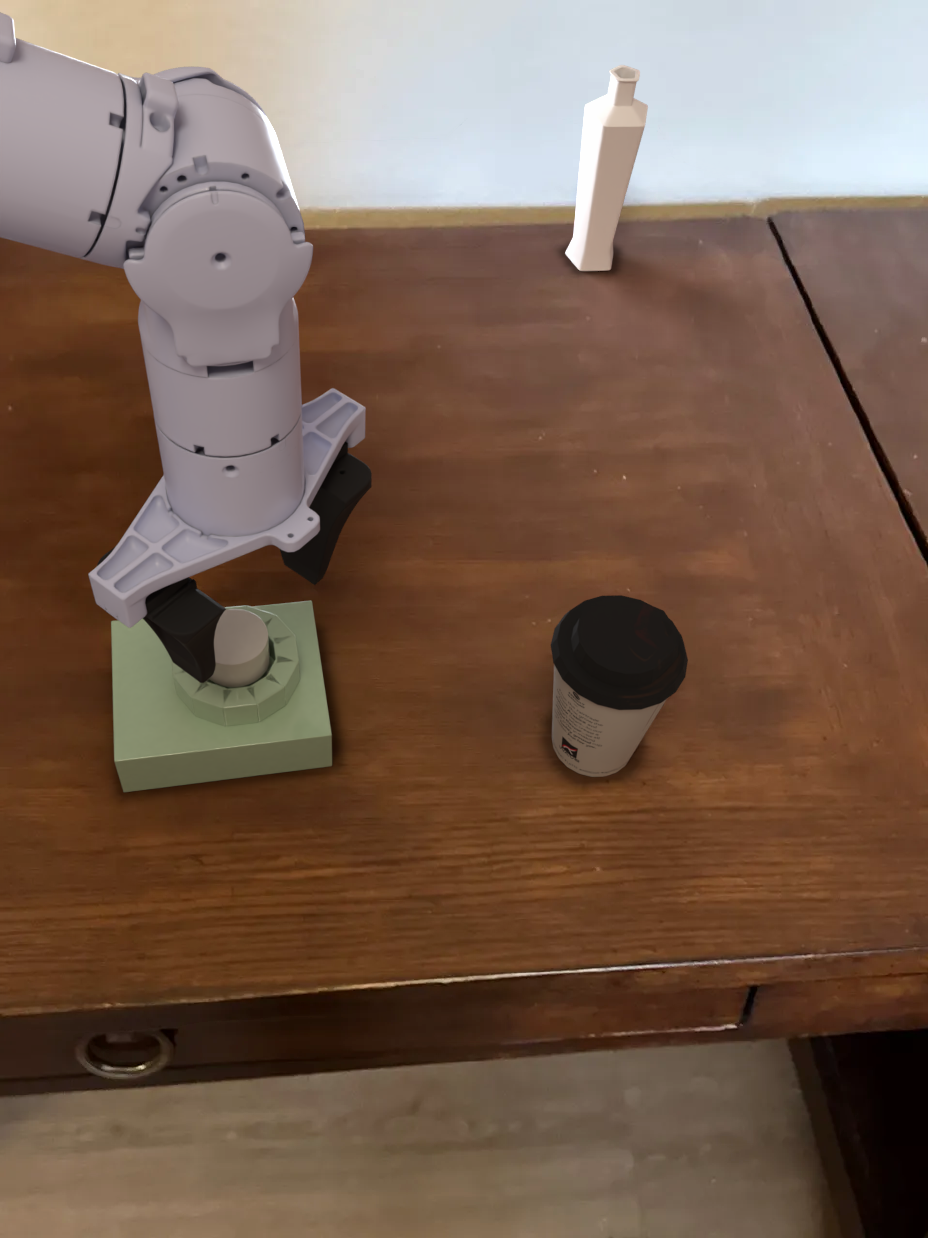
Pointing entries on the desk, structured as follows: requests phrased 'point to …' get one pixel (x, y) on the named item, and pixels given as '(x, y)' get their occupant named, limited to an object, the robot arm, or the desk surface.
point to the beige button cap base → (219, 709)
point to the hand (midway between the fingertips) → (250, 617)
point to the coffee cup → (611, 680)
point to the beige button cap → (240, 649)
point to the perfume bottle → (606, 169)
